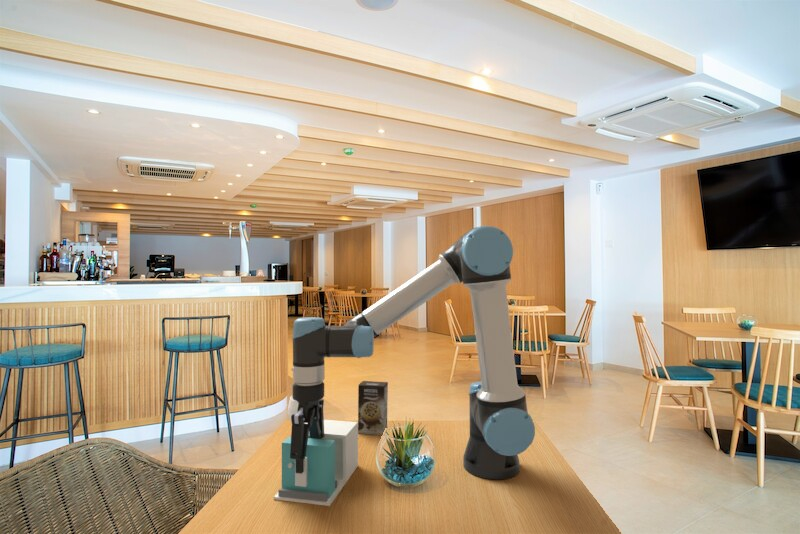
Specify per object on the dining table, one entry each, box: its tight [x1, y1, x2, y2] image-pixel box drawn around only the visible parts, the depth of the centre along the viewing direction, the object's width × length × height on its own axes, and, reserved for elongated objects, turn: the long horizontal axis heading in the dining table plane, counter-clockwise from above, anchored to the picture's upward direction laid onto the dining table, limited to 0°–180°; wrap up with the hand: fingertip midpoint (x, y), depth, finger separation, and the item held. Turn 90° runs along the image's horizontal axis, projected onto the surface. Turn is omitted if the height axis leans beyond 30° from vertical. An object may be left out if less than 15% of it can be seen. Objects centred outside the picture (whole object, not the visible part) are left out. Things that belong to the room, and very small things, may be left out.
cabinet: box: [273, 419, 359, 507], centre depth 110 cm, size 14×21×12 cm, turn 168°
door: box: [281, 435, 335, 498], centre depth 103 cm, size 12×5×12 cm, turn 78°
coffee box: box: [357, 380, 389, 436], centre depth 145 cm, size 9×6×16 cm
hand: (308, 477), depth 103 cm, fingers open, 7 cm apart
